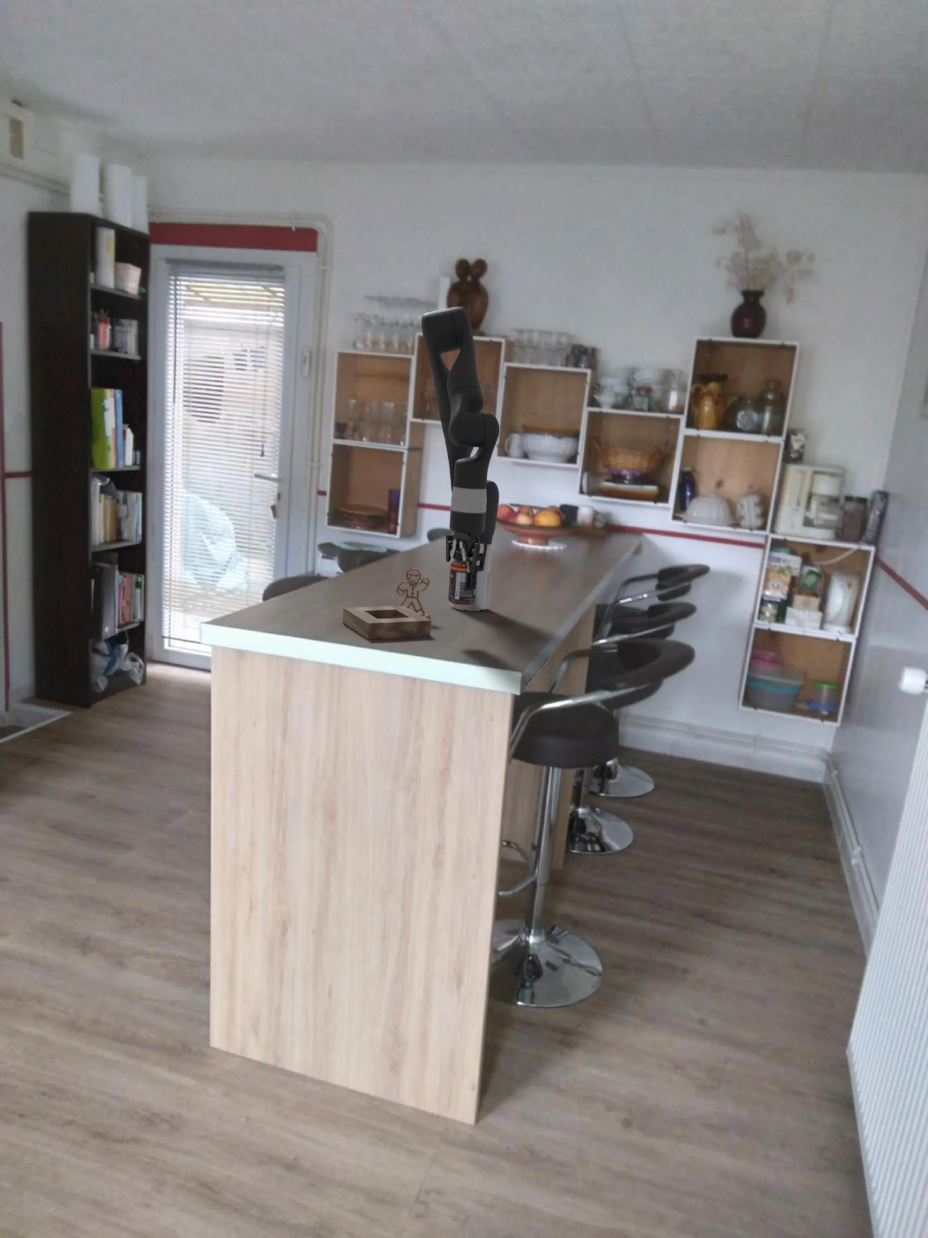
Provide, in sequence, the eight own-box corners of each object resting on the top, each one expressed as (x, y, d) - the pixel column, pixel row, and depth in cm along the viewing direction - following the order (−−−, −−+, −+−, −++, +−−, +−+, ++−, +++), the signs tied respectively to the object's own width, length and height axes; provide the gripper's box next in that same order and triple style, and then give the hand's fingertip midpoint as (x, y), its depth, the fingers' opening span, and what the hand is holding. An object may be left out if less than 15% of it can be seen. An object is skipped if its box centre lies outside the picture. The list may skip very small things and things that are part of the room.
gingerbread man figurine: (390, 616, 208) (393, 567, 205) (396, 613, 212) (399, 565, 209) (425, 621, 206) (428, 571, 203) (430, 618, 209) (434, 569, 207)
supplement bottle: (446, 598, 190) (450, 548, 187) (473, 600, 191) (477, 549, 188) (448, 604, 184) (452, 552, 182) (476, 606, 185) (480, 554, 182)
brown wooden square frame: (401, 620, 205) (402, 605, 204) (430, 635, 192) (431, 620, 191) (342, 622, 197) (343, 607, 197) (367, 639, 185) (368, 623, 184)
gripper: (501, 513, 178) (494, 592, 182) (466, 504, 191) (461, 579, 194) (469, 513, 175) (464, 594, 179) (436, 504, 187) (432, 580, 191)
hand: (462, 586), depth 187 cm, fingers closed on supplement bottle, 6 cm apart
